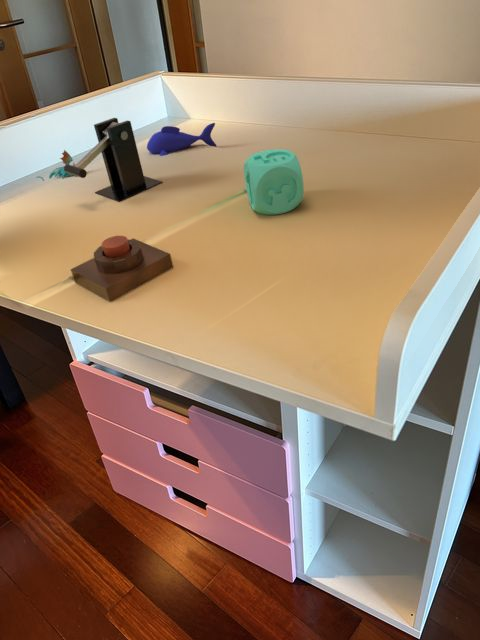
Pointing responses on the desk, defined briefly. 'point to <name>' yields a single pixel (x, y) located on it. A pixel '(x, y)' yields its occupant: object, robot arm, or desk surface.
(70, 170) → the switch lever
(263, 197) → the decorative dice
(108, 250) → the button
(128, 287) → the button block
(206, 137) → the fish toy
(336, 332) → the desk surface
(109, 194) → the switch bracket
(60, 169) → the dragon figurine
